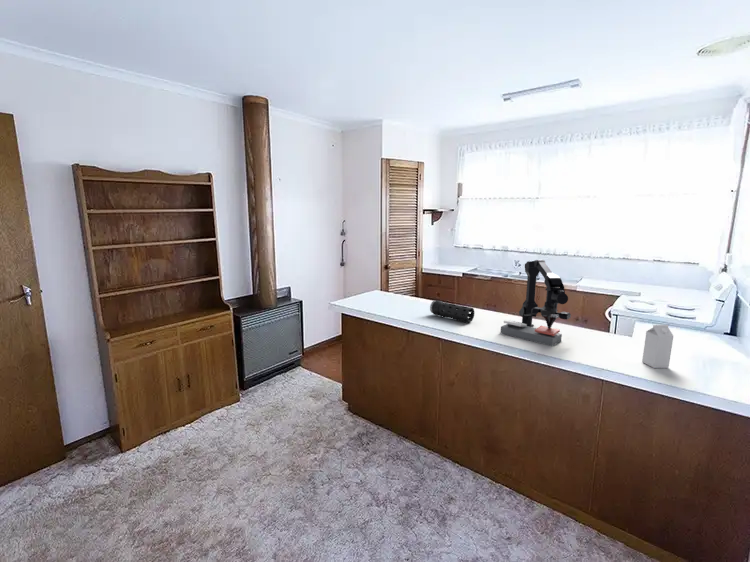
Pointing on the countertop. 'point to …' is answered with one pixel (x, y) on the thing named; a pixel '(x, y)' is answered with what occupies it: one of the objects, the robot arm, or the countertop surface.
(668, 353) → the milk carton
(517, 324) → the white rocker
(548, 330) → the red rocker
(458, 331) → the countertop surface
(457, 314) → the muzzle brake
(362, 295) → the countertop surface
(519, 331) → the switch box
